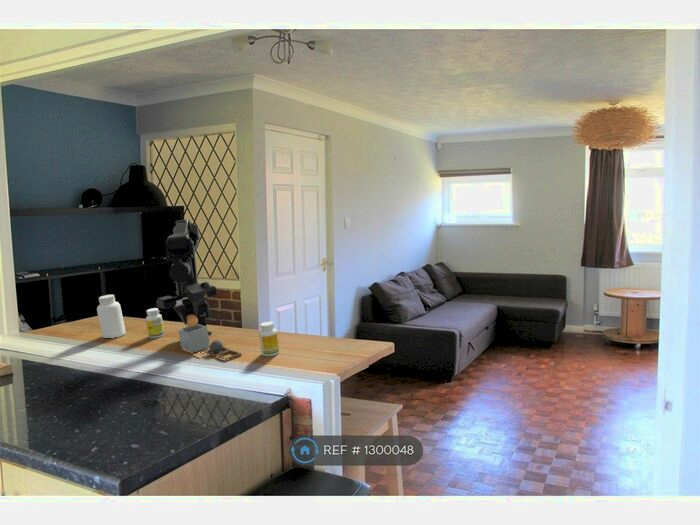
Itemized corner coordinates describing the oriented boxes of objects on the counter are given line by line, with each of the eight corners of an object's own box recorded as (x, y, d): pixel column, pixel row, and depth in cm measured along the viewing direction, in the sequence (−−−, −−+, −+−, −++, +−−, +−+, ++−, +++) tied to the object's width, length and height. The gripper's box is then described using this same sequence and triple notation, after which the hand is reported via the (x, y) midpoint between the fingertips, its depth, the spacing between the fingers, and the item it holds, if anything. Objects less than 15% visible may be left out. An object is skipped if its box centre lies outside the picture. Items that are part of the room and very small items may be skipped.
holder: (205, 353, 176) (204, 351, 176) (220, 348, 180) (220, 345, 180) (225, 361, 167) (225, 359, 167) (241, 355, 171) (241, 353, 171)
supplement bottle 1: (147, 336, 200) (142, 310, 198) (162, 332, 203) (157, 306, 201) (151, 339, 196) (147, 312, 194) (167, 335, 199) (162, 309, 197)
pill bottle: (102, 335, 207) (94, 296, 204) (125, 330, 210) (118, 292, 207) (102, 341, 200) (94, 300, 197) (126, 336, 203) (119, 296, 200)
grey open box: (181, 349, 182) (178, 329, 180) (199, 343, 186) (196, 323, 185) (191, 353, 177) (188, 332, 176) (210, 347, 181) (206, 326, 180)
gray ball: (208, 353, 176) (206, 341, 175) (219, 349, 179) (217, 337, 178) (215, 355, 173) (213, 343, 172) (226, 351, 176) (224, 339, 175)
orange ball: (183, 327, 180) (181, 315, 179) (194, 323, 183) (193, 312, 182) (189, 329, 177) (187, 317, 176) (201, 325, 180) (199, 314, 179)
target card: (191, 355, 176) (191, 354, 176) (200, 352, 178) (200, 351, 178) (199, 358, 172) (199, 357, 172) (208, 355, 174) (208, 354, 174)
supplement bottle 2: (258, 354, 171) (254, 324, 169) (273, 348, 174) (269, 319, 172) (268, 358, 167) (263, 327, 165) (283, 352, 170) (279, 322, 168)
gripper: (168, 285, 165) (176, 335, 168) (223, 271, 177) (230, 317, 180) (151, 281, 173) (160, 329, 176) (205, 267, 185) (212, 313, 188)
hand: (191, 322), depth 180 cm, fingers closed on orange ball, 4 cm apart
